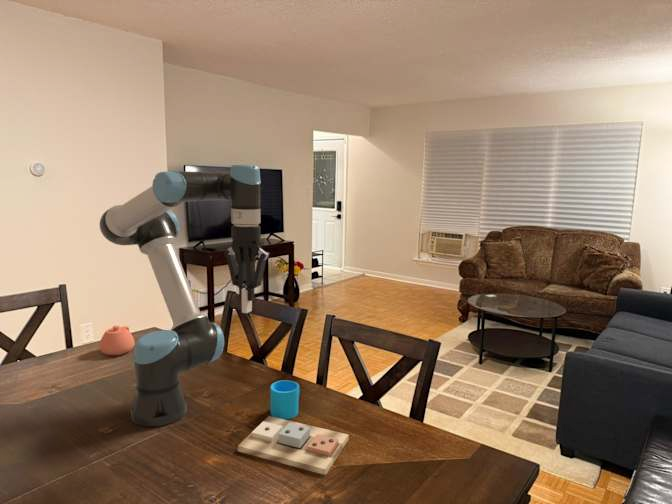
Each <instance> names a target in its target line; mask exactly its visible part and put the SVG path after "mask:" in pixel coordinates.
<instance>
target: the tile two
mask: <svg viewBox="0 0 672 504" xmlns="http://www.w3.org/2000/svg"><path fill="white" fill-rule="evenodd" d="M309 437H310V427H307V426H303V425H298V424H294V423H290V422H289V423H288V425H287V426H286V427H285V428H284V429H283V430H282V431H281V432H280V433H279V443H281V445H284V446H288V447H292V448H296V449H302V447H303V446H304V445H305V444H306V443H307V439H308V438H309Z"/></svg>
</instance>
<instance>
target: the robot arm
mask: <svg viewBox="0 0 672 504" xmlns="http://www.w3.org/2000/svg"><path fill="white" fill-rule="evenodd" d="M261 183H262V180H261V171H260V167H259V166H258V165H250V164H249V165H248V164H232V165H231V166H230V172H229V171H227V172H226V171H225V172H224V171H214V170H213V171H180V170H178V171H177V170H168V171H160V172H158V173H156V174H155V175H154V178H153V180H152V186H150V187H148V188H146V189H145V190H143V191H142V192H141V193H139V194H137V195H135V196H134V197H132V198H131V199H129V200H127V201H126V202H124V203H123V204H117V205H113V206H112V207H110V208H109V209H107V210H106V211H104V213H102V215H101V217H100V219H99V229H100V232H101V234H102V236H103V237H104V238H105V239H106V240H107V241H109V242H110V243H112V244H115V245H119V246H135V245H137V246H138V249H139V251H140V253H141V254H143V255H146V256H147V258H148V260H149V263H150V265H151V268H152V271H153V274H154V277H155V278H156V281H157V284H158V287H159V289H160V292H161V295H162V296H163V300H164V302H165V304H166V307H167V311H168V313H169V316H170V318H171V321H172V323H173V325H172V327H171V329H162V330H156V331H151V332H149V333H145V334H144V335H142V336H141V337H139V338H138V339H137V340H136V343H135V345H134V347H133V348H134V350H133V351H134V353H133V361H134V370H135V372H134V373H135V390H136V391H135V395H134V398H133V401H132V405H131V409H130V419H131V422H133V423H134V424H136V425H137V426H141V427H147V428H149V427H150V428H151V427H154V428H155V427H162V426H165V425H169V424H172V423H175V422H176V421H178V420H180V419H182V418H183V417H184V416H185V415H186V413H187V411H188V410H187V409H188V407H187V400H186V398H185V397H184V393H183V390H182V388H181V385H180V384H181V383H180V374H182V373H185V372H187V371H190V370H192V369H196V368H198V367H201V366H204V365H208V364H210V363H211V362H214V361H215V360H218V359H219V358H220V357H221V356H222V354H223V351H224V348H225V336H224V332H223V329H222V328H221V327H220V325H218V324H217V323H216V322H210V320H209V317H208V315H207V314H203V313H202V312H201V310H200V308H199V305H198V303H197V300H196V298H195V295H194V293H193V290H192V288H191V284H190V282H189V280H188V277H187V274H186V273H185V270H184V268H183V264H182V262H181V260H180V257H179V254H178V252H177V250H176V247H175V246H176V243H177V242H178V239H177V238H178V236H179V234H180V228H179V227H180V224H179V220H178V218H177V216H176V214H175V212H173V211H172V209H173V208H175V207H178V206H180V205H182V204H183V203H187V202H204V201H229V202H230V213H231V214H230V217H231V219H230V222H231V224H233V225H232V226H231V228H230V229H231V230H230V231H231V235H230V236H231V241H232V242H231V245H230V247H229V248H227V249H224V250H223V254H224V256H225V258H226V261H227V266H228V270H229V274H230V278H231V279H230V280H231V284H232V285H233V286H236V287H237V288H238V295H239V296H238V297H239V300H240V301H241V313H242V314H249V313H251V312H252V311H253V310H252V309H253V301H254V300H255V289H256V288H258V287H260V286H262V282H263V277H264V272H265V269H266V268H265V267H266V265H267V264H266V263H267V260H268V258H269V257H270V252H269V251H265V250H264V249H263V248H262V247H263V246H262V244H261V229H262V228H261V226H260V224H261V221H262V220H261ZM257 258H258V259H257Z"/></svg>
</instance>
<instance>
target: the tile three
mask: <svg viewBox="0 0 672 504" xmlns="http://www.w3.org/2000/svg"><path fill="white" fill-rule="evenodd" d="M337 447H338V439H335V438H331V437H327V436H323V435H319V434H317V435H316V436H315V437H314V439H313V440H312V441H311V442H310V444H309V445H308V446H307V452H311V453H315V454H319V455H322V456H326V457H331V456H332V454H333V453H334V451H335V450H336V448H337Z"/></svg>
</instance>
